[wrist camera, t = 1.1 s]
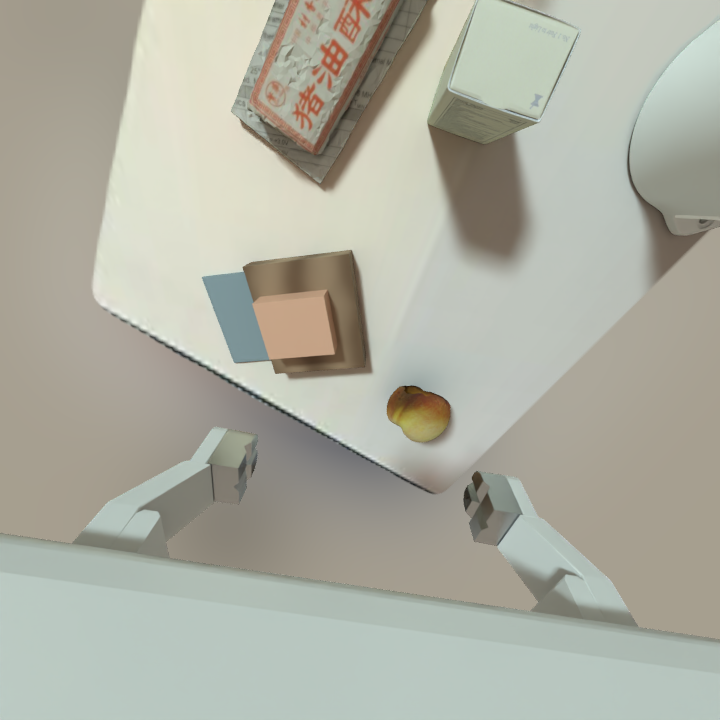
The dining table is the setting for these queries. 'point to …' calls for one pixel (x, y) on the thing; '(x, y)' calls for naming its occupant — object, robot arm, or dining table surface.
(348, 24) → the packaged product
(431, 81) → the dining table surface
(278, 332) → the terracotta tile
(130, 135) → the dining table surface
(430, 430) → the fruit
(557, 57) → the skincare box
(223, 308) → the slate mat
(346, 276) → the walnut stand
